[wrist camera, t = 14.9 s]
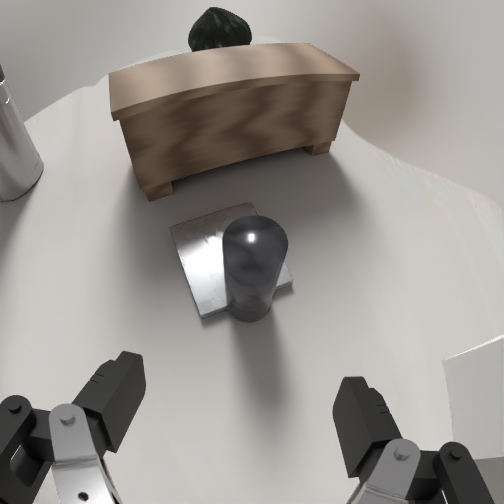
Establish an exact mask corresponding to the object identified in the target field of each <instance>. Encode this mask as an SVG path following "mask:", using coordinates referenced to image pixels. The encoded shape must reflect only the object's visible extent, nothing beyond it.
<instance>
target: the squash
mask: <svg viewBox="0 0 504 504" xmlns="http://www.w3.org/2000/svg"><path fill="white" fill-rule="evenodd" d="M251 40H252V35H251V30H250V27H249V25H248V24H247V22H246V21H245V20H243V19H242V18H240V17H239V16H237V15H235V14H233V13H231V12H229V11H227V10H225V9H222V8H218V7H210V8H209V9H208V10H206V12H205V13H204V14H203V15H202V16H201V17H200V18H199V19H198V20H197V21H196V22H195V24H194V25H193V27H192V29H191V31H190V33H189V38H188V44H189V46H190V48H191V50H192V52H196V51H202V50H209V49H216V48H224V47H233V46H243V45H250V42H251Z"/></svg>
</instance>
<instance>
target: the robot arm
mask: <svg viewBox="0 0 504 504" xmlns="http://www.w3.org/2000/svg"><path fill="white" fill-rule="evenodd" d="M42 170H43V162H42V160H41V158H40V155H39V153H38V152H37V150H36V148H35V146H34V144H33V142H32V140H31V138H30V136H29V134H28V132H27V130H26V127H25V125H24V123H23V121H22V119H21V116H20V114H19V112H18V110H17V107H16V105H15V102H14V100H13V97H12V95H11V92H10V90H9V87H8V85H7V82H6V79H5V76H4V74H3V71H2V68H1V65H0V202H1V201H3V200H7V201H10V200H14V199H16V198H18V197H20V196H21V195H23V194H24V193H25V192H27V191H28V190H29V189H30V188H31V187H32V186H33V185H34V184H35V182H36V181H37V180H38V178H39V177H40V175H41V173H42ZM145 390H146V381H145V373H144V365H143V358H142V355H140V354H135V353H131V352H127V351H123V352H122V353H121V354H120V355H119V357H118V358H117V359H116V361H113V360H109V361H107V362H106V363H104V364H102V365H101V366H100V367H99V368H98V369H97V371H96V372H95V374H94V375H93V376H92V377H91V378H90V381H88V382H87V384H86V385H85V386H84V387H83V389H82V390H81V391H80V393H79V394H78V395H77V397H76V398H75V399H74V401H73V402H72V403H71V404H61V405H58V406H56V407H55V408H54V409H53V410H52V411H46V410H40V409H34V408H32V406H31V404H30V402H29V401H28V399H26V398H25V397H23V396H20V395H13V396H9V397H7V398H6V399H4V400H3V401H2V403H1V404H0V504H32V503H33V501H34V499H35V497H36V495H37V493H38V491H39V489H40V487H41V485H42V483H43V481H44V479H45V477H46V475H47V473H48V471H49V469H50V467H51V465H52V473H53V477H54V482H55V486H56V490H57V494H58V497H59V501H60V504H123V503H122V501H121V499H120V497H119V495H118V493H117V490H116V488H115V486H114V483H113V481H112V478H111V476H110V473H109V471H108V468H107V465H106V463H105V460H104V458H103V456H104V454H105V452H106V450H108V451H111V452H114V453H117V450H118V448H119V446H120V444H121V442H122V440H123V438H124V436H125V434H126V432H127V430H128V428H129V426H130V424H131V422H132V420H133V417H134V415H135V413H136V411H137V409H138V407H139V405H140V403H141V401H142V399H143V397H144V395H145ZM333 419H334V423H335V427H336V430H337V434H338V438H339V442H340V446H341V450H342V454H343V458H344V462H345V466H346V470H347V474H348V478H354V477H359V480H360V483H359V484H358V485H357V487H356V489H355V490H354V492H353V493H352V495H351V497H350V498H349V500H348V501H347V503H346V504H446V502H445V499H444V496H443V493H442V490H443V492H444V494H445V497H446V500H447V502H448V504H494V502H493V499H492V497H491V495H490V493H489V491H488V489H487V486H486V484H485V482H484V480H483V478H482V476H481V474H480V472H479V470H478V468H477V466H476V464H475V462H474V460H473V458H472V456H471V454H470V453H469V451H468V449H467V448H466V447H465V446H464V445H463V444H461V443H458V442H448V443H446V444H444V445H443V446H442V447H441V449H440V450H439V451H422V450H419V448H418V446H417V445H416V444H415V443H413V442H412V441H410V440H407V439H403V438H402V436H401V434H400V432H399V429H398V427H397V425H396V423H395V421H394V419H393V417H392V415H391V413H390V411H389V409H388V407H387V406H386V403H385V401H384V399H383V397H382V395H381V394H380V393H379V392H378V391H376V390H375V389H374V388H369V387H368V385H367V383H366V381H365V379H364V377H362V376H360V377H344V378H343V380H342V383H341V386H340V388H339V391H338V394H337V397H336V399H335V402H334V405H333ZM20 445H21V446H20ZM19 446H20V447H19ZM18 447H19V449H18ZM17 449H18V451H17V452H16V450H17ZM15 452H16V454H15V455H14V453H15ZM13 455H14V457H13ZM12 457H13V459H12V460H11V458H12ZM10 461H11V462H10ZM53 462H54V463H53Z"/></svg>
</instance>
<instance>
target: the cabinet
mask: <svg viewBox="0 0 504 504" xmlns="http://www.w3.org/2000/svg"><path fill="white" fill-rule="evenodd" d="M359 77H360V74H359V73H358V72H356V71H355V70H353V69H352V68H350V67H349V66H347V65H345V64H344V63H342V62H341V61H339V60H337V59H336V58H334V57H332V56H331V55H329V54H327V53H326V52H324V51H322V50H320V49H318V48H317V47H315V46H313V45H311V44H309V43H277V44H256V45H243V46H233V47H224V48H216V49H209V50H202V51H196V52H191V53H185V54H180V55H175V56H170V57H166V58H162V59H157V60H153V61H149V62H145V63H142V64H138V65H135V66H131V67H128V68H124V69H121V70H118V71H115V72H112V73H109V93H110V108H111V115H112V118H113V121H116V120H119V121H120V125H121V128H122V132H123V135H124V138H125V142H126V145H127V149H128V152H129V155H130V158H131V161H132V165H133V168H134V171H135V174H136V177H137V180H138V183H139V186H140V189H141V191H144V190H146V193H147V196H148V199H149V201H152V200H155V199H158V198H161V197H164V196H167V195H170V194H173V189H172V185H171V181H174V180H177V179H180V178H183V177H186V176H190V175H193V174H196V173H200V172H203V171H206V170H210V169H213V168H217V167H220V166H224V165H228V164H231V163H235V162H239V161H243V160H247V159H251V158H255V157H259V156H263V155H267V154H271V153H276V152H280V151H285V150H289V149H294V148H299V147H304V148H305V149H306V150H307V151H308V152H309V153H310V154H311V156H312V155H316V154H321V153H326V152H329V149H330V146H331V142H332V141H335V138H336V135H337V131H338V128H339V125H340V122H341V118H342V115H343V111H344V108H345V104H346V101H347V97H348V94H349V91H350V87H351V83H352V81H358V80H359Z"/></svg>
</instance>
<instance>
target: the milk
mask: <svg viewBox="0 0 504 504" xmlns="http://www.w3.org/2000/svg"><path fill="white" fill-rule="evenodd" d="M442 362H443V367H444V372H445V378H446V383H447V390H448V396H449V403H450V411H451V420H452V431H453V442H458V443H461V444H463V445H464V446H465V447H466V448H467V449H468V451H469V453H470V454H471V456H472V458H473V460H474V459H487V458H496V457H504V334H503V335H501V336H498V337H496V338H494V339H492V340H490V341H488V342H486V343H483V344H481V345H479V346H477V347H474V348H472V349H470V350H467V351H465V352H463V353H460V354H458V355H455V356H453V357H450V358H447V359H445V360H442Z"/></svg>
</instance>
